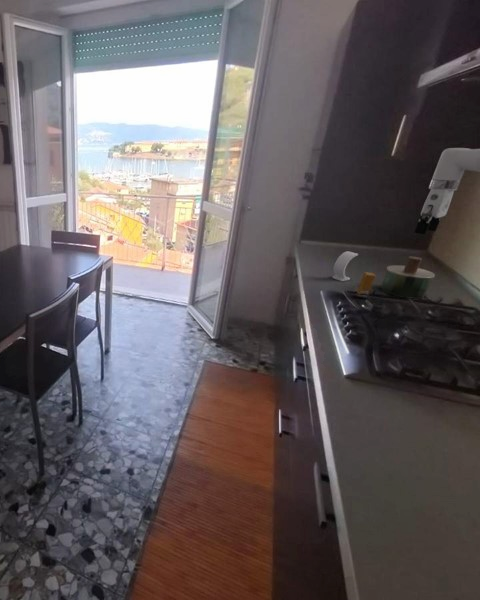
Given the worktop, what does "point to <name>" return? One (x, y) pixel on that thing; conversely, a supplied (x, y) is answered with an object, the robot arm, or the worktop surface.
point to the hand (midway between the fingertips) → (425, 231)
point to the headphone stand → (342, 265)
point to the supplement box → (366, 283)
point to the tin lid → (411, 269)
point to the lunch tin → (405, 286)
